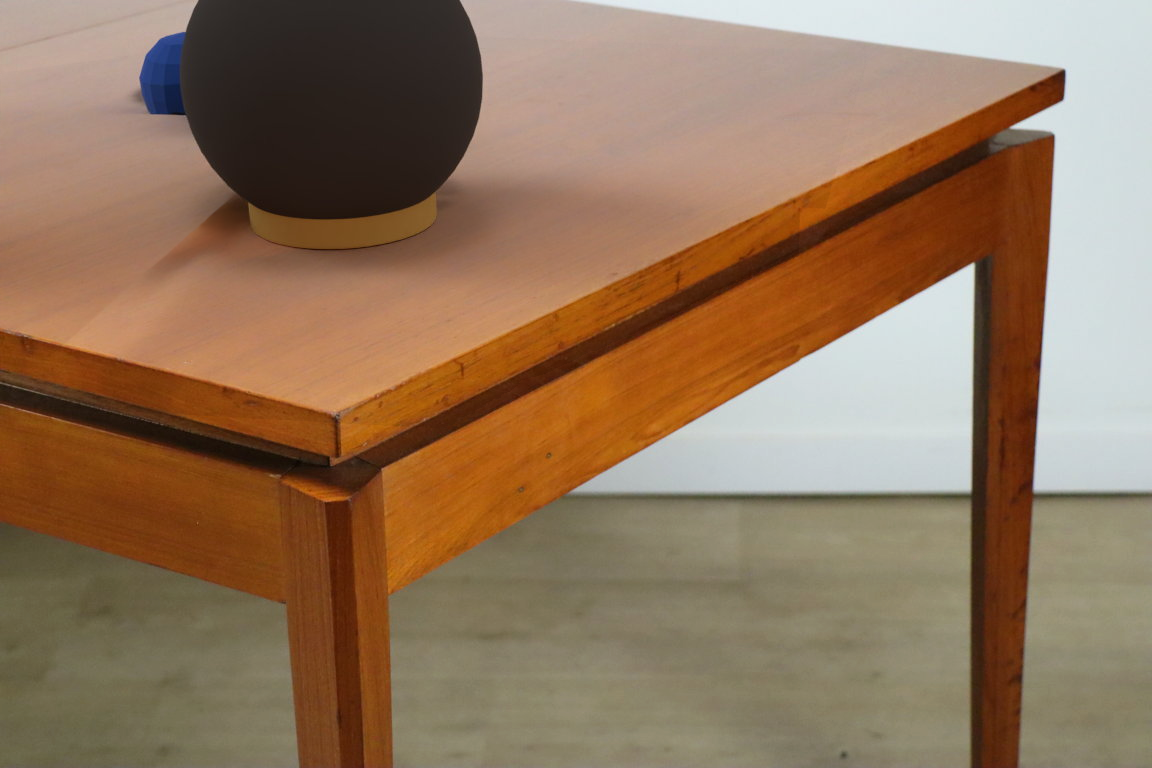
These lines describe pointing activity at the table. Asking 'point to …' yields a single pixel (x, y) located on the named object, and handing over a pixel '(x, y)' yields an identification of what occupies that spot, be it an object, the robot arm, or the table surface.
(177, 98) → the toy
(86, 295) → the table surface
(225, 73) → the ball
